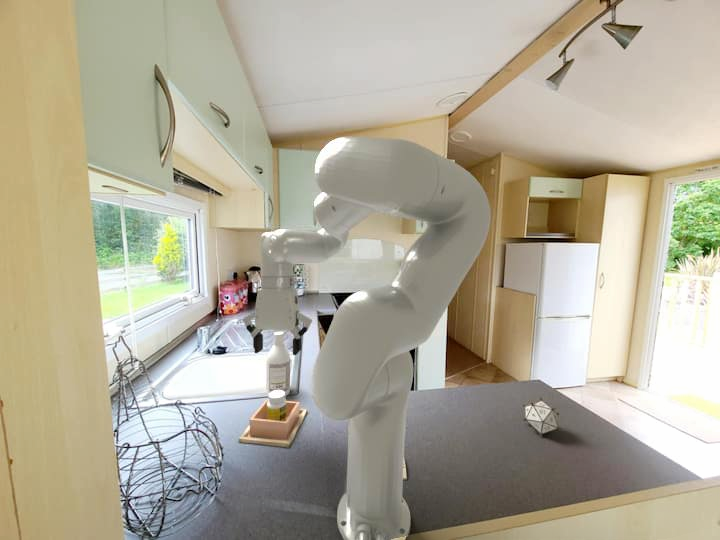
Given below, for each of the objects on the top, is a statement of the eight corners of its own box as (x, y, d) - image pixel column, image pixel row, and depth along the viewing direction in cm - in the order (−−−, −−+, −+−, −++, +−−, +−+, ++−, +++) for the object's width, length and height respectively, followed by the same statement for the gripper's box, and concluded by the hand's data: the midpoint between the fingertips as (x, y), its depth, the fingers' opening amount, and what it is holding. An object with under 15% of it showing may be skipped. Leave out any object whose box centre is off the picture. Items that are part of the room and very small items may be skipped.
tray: (288, 452, 64) (288, 443, 63) (238, 446, 65) (238, 438, 65) (307, 416, 77) (307, 409, 77) (265, 412, 79) (265, 405, 79)
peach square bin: (286, 439, 66) (286, 423, 66) (249, 435, 67) (249, 419, 67) (299, 416, 75) (299, 402, 75) (266, 413, 76) (266, 399, 76)
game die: (534, 446, 73) (513, 417, 72) (532, 419, 80) (513, 392, 79) (572, 444, 68) (551, 413, 67) (567, 416, 75) (547, 386, 74)
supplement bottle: (281, 432, 68) (281, 400, 67) (263, 430, 69) (263, 398, 68) (289, 420, 73) (289, 389, 72) (272, 418, 74) (271, 387, 73)
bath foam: (293, 397, 87) (294, 333, 86) (271, 404, 83) (272, 337, 81) (284, 388, 92) (284, 328, 91) (263, 394, 88) (263, 332, 87)
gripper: (315, 282, 71) (315, 349, 72) (251, 281, 73) (251, 345, 74) (307, 286, 64) (307, 359, 65) (235, 284, 66) (236, 356, 67)
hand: (277, 352), depth 69 cm, fingers open, 9 cm apart
